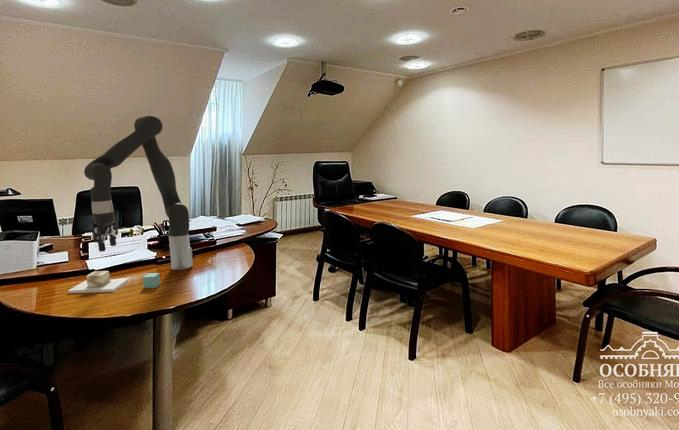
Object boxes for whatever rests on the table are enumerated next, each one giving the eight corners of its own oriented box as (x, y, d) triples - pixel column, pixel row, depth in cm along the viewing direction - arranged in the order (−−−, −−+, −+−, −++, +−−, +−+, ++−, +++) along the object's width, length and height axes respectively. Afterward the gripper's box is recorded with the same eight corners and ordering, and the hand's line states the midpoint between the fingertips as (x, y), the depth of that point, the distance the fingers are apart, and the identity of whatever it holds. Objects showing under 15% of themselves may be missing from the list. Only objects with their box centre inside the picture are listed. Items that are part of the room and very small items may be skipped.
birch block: (110, 281, 160) (108, 270, 159) (102, 286, 154) (101, 275, 153) (95, 282, 159) (94, 271, 158) (87, 287, 153) (86, 275, 152)
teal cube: (160, 283, 161) (159, 272, 161) (155, 287, 156) (154, 276, 156) (148, 283, 161) (147, 273, 160) (143, 288, 156) (142, 277, 155)
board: (127, 281, 163) (127, 278, 163) (114, 291, 152) (113, 288, 151) (85, 282, 162) (85, 280, 162) (68, 293, 150) (68, 290, 150)
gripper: (103, 208, 158) (108, 244, 161) (83, 214, 144) (88, 253, 147) (121, 208, 159) (125, 243, 162) (102, 214, 145) (108, 253, 148)
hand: (108, 248), depth 155 cm, fingers open, 8 cm apart
